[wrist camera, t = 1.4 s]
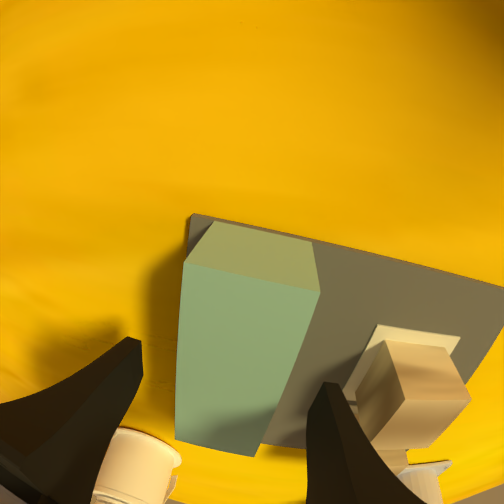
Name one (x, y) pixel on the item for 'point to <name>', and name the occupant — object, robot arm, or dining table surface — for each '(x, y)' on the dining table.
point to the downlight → (136, 470)
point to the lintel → (239, 333)
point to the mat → (374, 323)
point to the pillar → (409, 396)
